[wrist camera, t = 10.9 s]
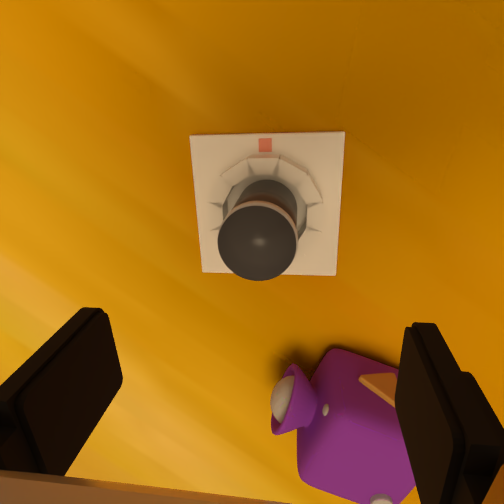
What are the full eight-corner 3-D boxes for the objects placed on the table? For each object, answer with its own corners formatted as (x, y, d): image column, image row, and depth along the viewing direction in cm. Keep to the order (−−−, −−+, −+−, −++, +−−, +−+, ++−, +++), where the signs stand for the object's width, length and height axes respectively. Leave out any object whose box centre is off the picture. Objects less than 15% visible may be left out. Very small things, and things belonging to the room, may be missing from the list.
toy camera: (281, 327, 36) (275, 406, 27) (420, 354, 35) (462, 444, 26) (264, 407, 40) (254, 498, 31) (388, 432, 40) (414, 533, 31)
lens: (299, 178, 29) (298, 205, 22) (297, 239, 31) (297, 283, 24) (234, 178, 30) (213, 205, 22) (237, 238, 32) (218, 280, 24)
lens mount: (343, 131, 28) (348, 135, 25) (334, 270, 33) (338, 286, 30) (192, 134, 30) (181, 138, 27) (205, 267, 34) (196, 282, 32)
